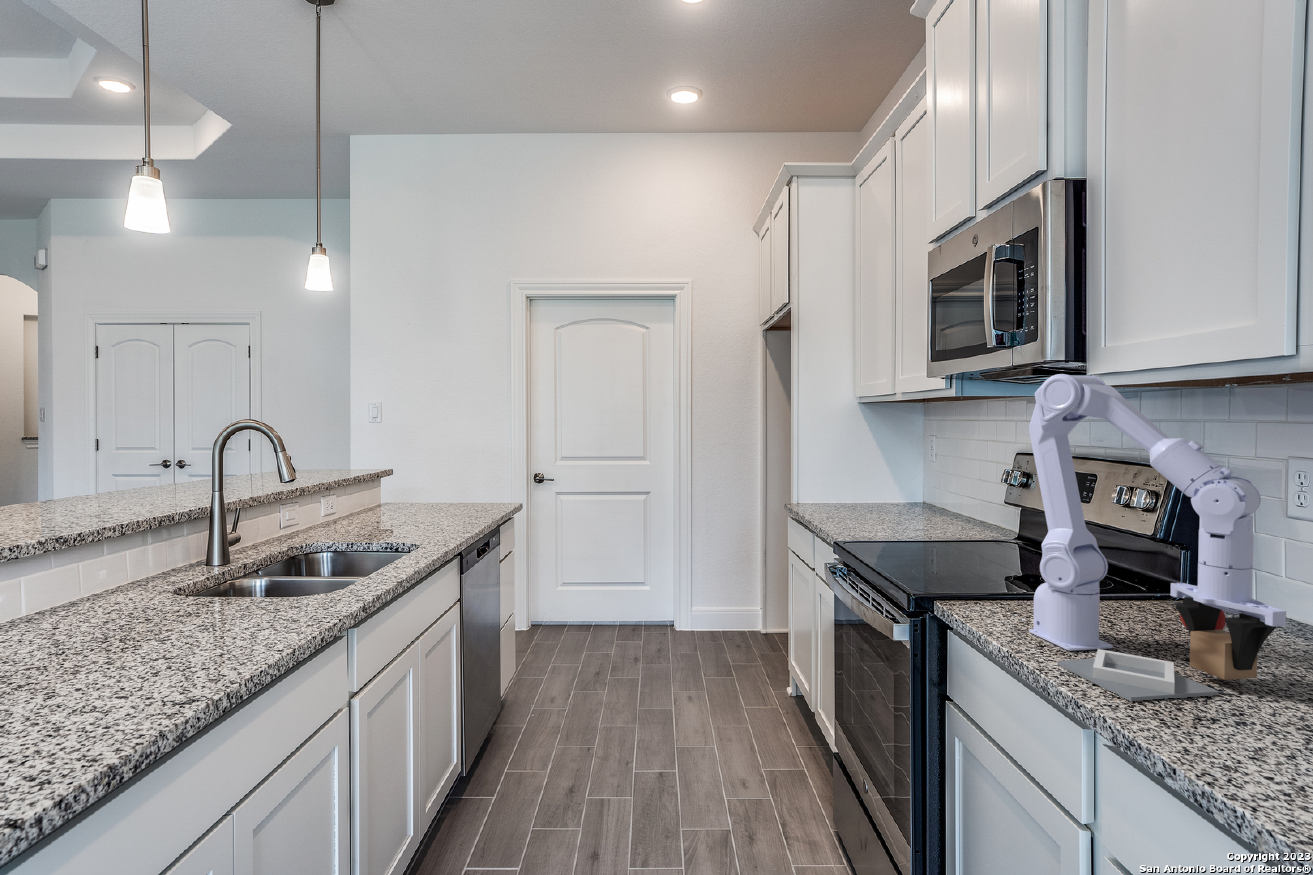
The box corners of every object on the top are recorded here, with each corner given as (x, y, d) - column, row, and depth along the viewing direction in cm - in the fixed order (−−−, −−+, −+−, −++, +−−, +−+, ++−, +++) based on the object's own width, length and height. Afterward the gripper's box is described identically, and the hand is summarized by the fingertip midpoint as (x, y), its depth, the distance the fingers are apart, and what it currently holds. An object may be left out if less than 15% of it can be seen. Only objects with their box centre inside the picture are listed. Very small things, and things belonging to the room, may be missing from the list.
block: (1189, 665, 93) (1190, 631, 93) (1220, 663, 94) (1221, 629, 94) (1224, 679, 88) (1225, 643, 88) (1256, 677, 89) (1257, 641, 89)
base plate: (1057, 664, 98) (1058, 650, 98) (1135, 659, 100) (1135, 646, 100) (1130, 701, 86) (1131, 685, 86) (1218, 695, 87) (1218, 680, 87)
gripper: (1152, 554, 97) (1151, 644, 98) (1253, 578, 83) (1250, 684, 83) (1195, 553, 98) (1193, 642, 99) (1301, 576, 84) (1298, 680, 84)
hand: (1222, 661), depth 91 cm, fingers closed on block, 5 cm apart
